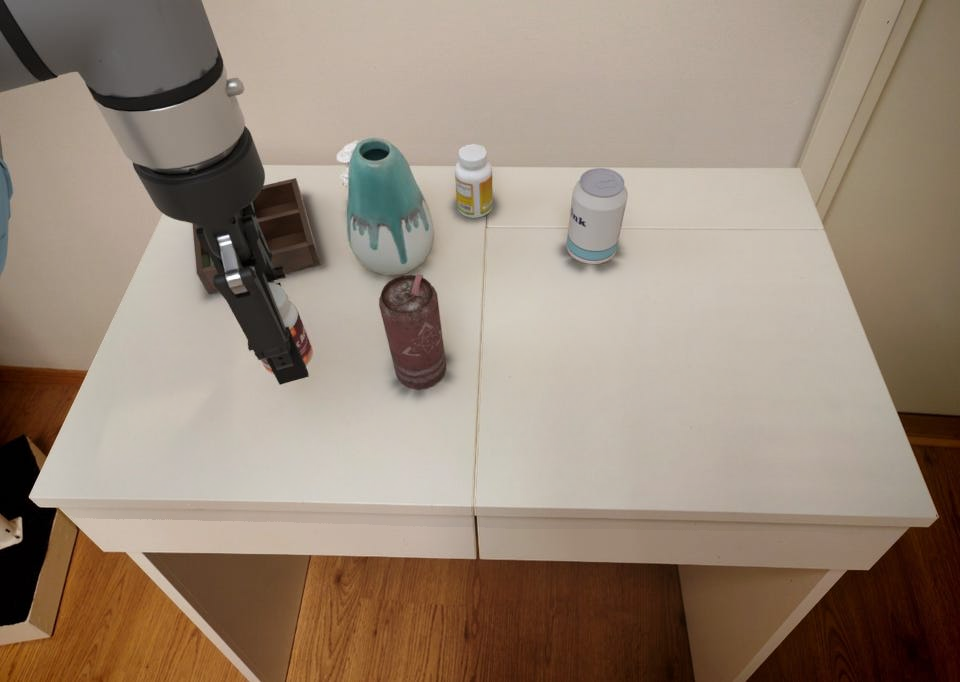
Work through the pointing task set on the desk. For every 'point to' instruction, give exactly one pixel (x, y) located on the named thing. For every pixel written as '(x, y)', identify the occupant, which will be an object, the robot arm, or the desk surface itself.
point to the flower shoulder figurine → (346, 159)
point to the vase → (386, 210)
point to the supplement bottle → (473, 181)
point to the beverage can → (596, 215)
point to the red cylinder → (413, 330)
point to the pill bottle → (291, 324)
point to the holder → (273, 232)
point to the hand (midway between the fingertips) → (289, 354)
